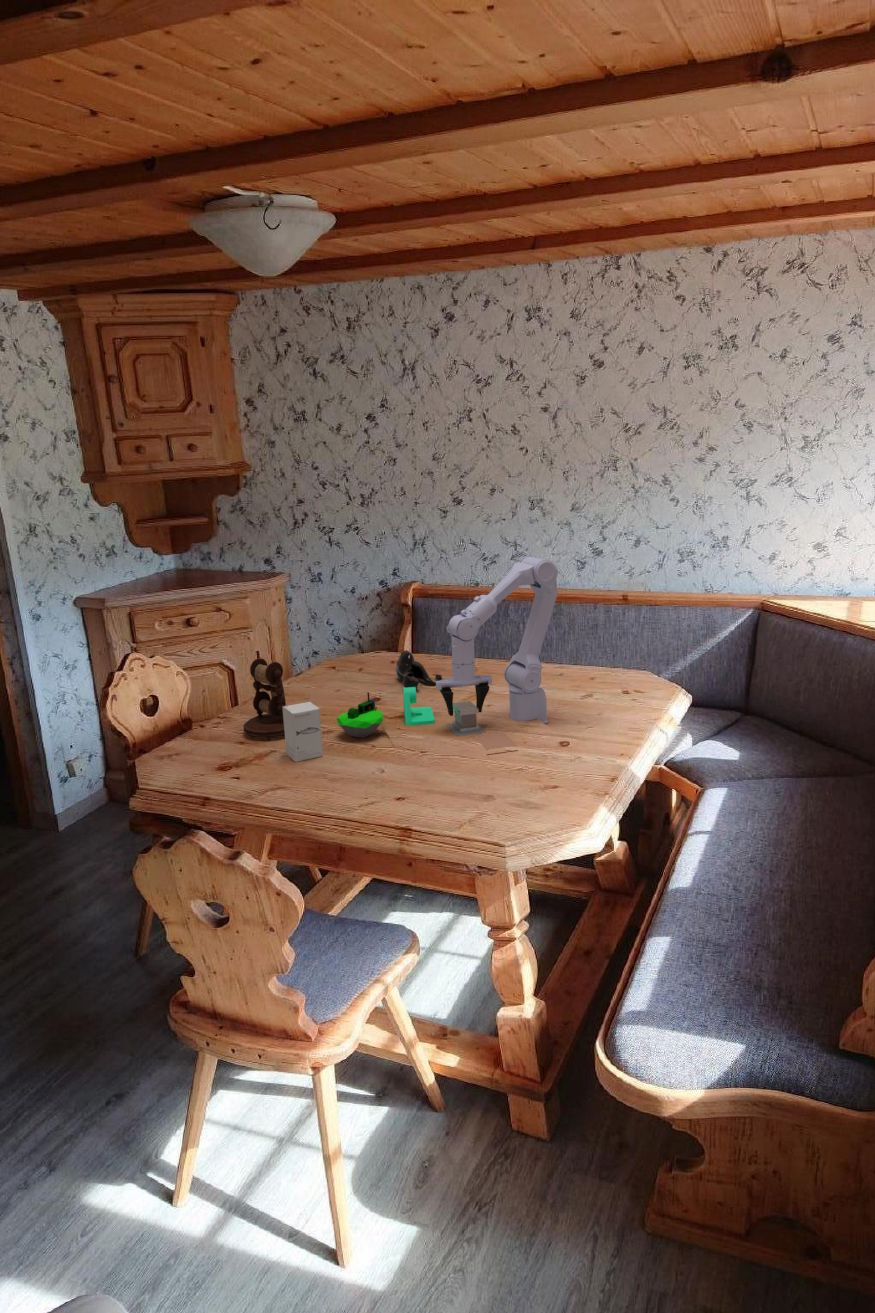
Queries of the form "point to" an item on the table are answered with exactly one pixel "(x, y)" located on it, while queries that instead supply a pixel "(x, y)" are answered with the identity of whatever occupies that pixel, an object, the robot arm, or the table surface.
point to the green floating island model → (361, 719)
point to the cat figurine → (412, 671)
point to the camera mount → (415, 709)
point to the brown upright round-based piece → (267, 700)
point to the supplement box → (302, 731)
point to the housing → (465, 717)
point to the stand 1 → (464, 733)
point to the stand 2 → (496, 741)
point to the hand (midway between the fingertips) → (465, 713)
